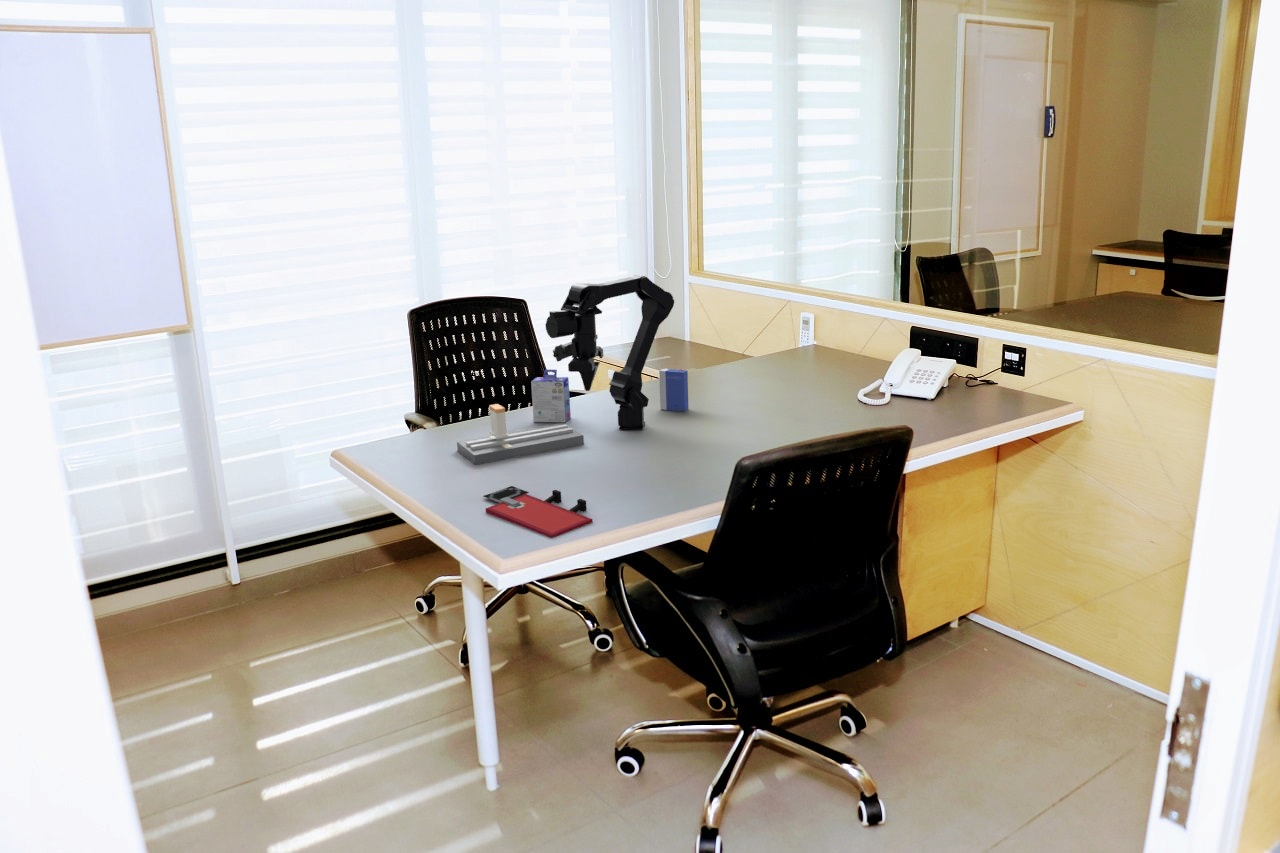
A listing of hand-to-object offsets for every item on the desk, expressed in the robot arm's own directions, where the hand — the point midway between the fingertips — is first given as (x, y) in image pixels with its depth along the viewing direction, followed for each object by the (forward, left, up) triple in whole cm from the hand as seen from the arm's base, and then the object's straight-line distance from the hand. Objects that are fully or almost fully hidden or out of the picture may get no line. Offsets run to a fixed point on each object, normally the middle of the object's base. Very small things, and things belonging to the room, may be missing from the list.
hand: (587, 390), depth 275 cm
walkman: (-20, -28, -13) cm, 37 cm away
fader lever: (+22, +12, -10) cm, 27 cm away
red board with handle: (+3, +54, -14) cm, 56 cm away
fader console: (+17, +9, -13) cm, 23 cm away
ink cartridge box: (+14, -17, -13) cm, 26 cm away
